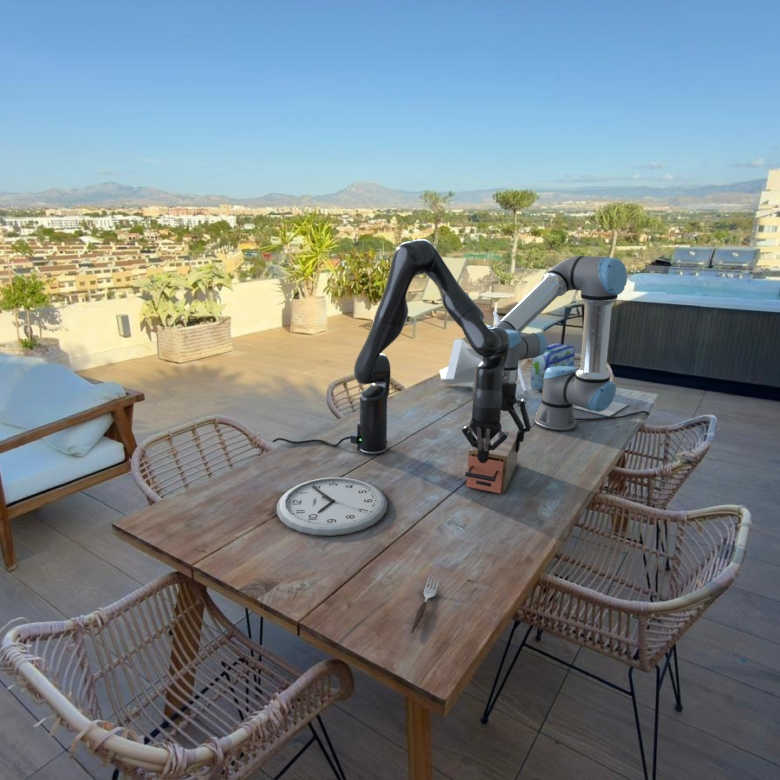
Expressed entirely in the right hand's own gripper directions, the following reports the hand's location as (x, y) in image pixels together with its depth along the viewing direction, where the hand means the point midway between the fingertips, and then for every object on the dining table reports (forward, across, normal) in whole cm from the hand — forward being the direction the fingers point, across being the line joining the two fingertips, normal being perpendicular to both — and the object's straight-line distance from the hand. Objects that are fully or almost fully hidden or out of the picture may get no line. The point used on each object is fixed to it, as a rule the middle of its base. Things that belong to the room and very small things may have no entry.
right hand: (498, 447), depth 166 cm
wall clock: (+7, -36, -44) cm, 57 cm away
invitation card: (+7, +29, +78) cm, 84 cm away
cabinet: (+7, 0, -6) cm, 9 cm away
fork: (+7, 0, -72) cm, 72 cm away
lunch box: (+7, +6, +98) cm, 98 cm away
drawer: (+6, 0, -12) cm, 14 cm away
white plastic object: (+7, -24, +75) cm, 79 cm away
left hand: (-5, 0, -23) cm, 23 cm away
